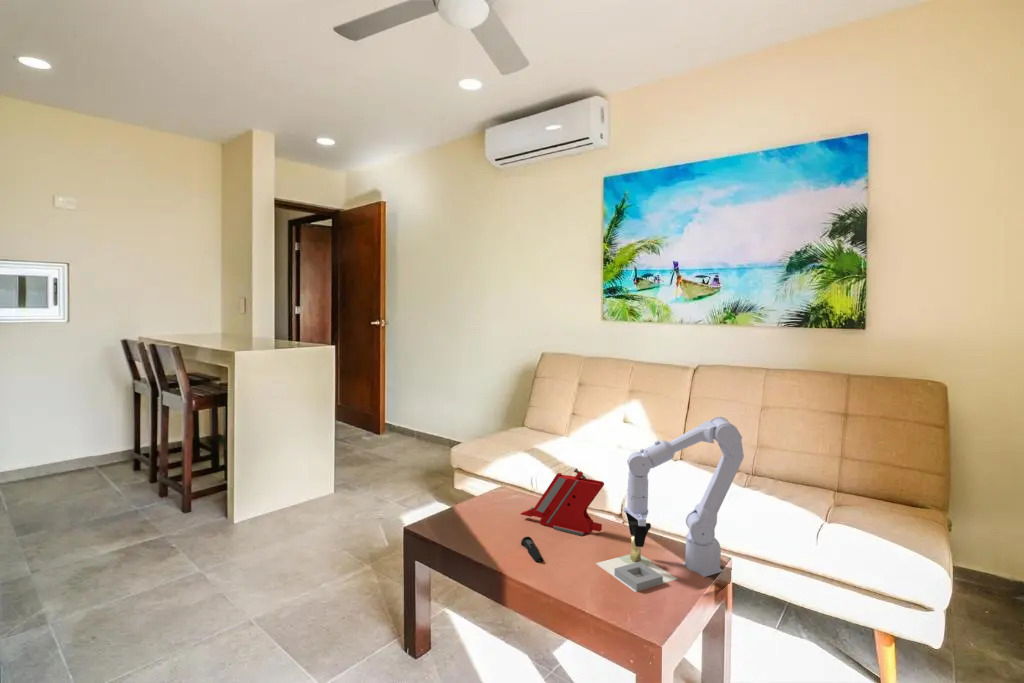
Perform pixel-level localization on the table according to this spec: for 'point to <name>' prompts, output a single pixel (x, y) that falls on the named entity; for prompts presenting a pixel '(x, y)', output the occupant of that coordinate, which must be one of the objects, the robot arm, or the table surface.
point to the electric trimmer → (531, 549)
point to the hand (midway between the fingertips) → (636, 540)
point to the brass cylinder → (635, 551)
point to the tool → (568, 504)
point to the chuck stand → (636, 572)
